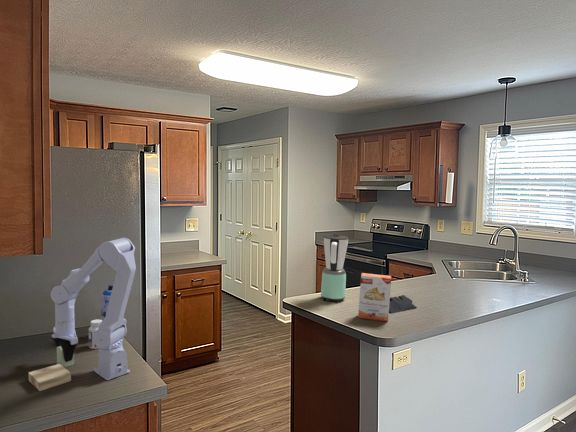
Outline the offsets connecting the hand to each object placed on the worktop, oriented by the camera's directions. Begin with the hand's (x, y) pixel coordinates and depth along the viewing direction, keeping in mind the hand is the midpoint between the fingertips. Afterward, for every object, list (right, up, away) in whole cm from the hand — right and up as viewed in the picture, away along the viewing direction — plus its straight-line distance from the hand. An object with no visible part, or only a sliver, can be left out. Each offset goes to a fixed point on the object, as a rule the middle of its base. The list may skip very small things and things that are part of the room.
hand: (65, 358), depth 145 cm
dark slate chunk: (+130, 0, +79) cm, 152 cm away
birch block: (+1, -4, -11) cm, 12 cm away
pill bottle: (+4, -1, +15) cm, 16 cm away
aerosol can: (+5, 0, +27) cm, 27 cm away
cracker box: (+116, -1, +60) cm, 130 cm away
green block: (0, -2, 0) cm, 2 cm away
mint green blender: (+99, +3, +87) cm, 132 cm away
